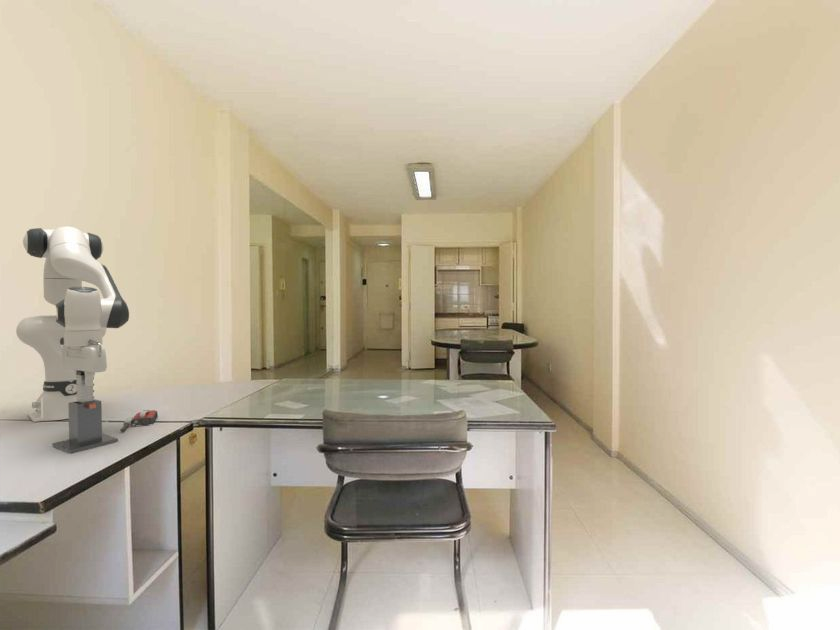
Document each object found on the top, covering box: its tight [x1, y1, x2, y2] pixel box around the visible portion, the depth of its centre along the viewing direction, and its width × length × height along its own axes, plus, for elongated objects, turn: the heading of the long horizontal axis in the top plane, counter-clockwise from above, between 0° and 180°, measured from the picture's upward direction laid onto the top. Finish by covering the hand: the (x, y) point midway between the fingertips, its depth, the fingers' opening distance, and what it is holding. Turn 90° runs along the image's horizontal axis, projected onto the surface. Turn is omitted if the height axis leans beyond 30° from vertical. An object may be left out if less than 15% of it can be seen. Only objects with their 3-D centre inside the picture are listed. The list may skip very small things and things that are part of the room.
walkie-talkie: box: [119, 409, 159, 432], centre depth 143 cm, size 9×4×20 cm
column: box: [76, 371, 95, 404], centre depth 122 cm, size 3×4×20 cm
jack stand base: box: [51, 398, 119, 454], centre depth 122 cm, size 12×12×13 cm
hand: (84, 384), depth 122 cm, fingers closed on column, 3 cm apart
